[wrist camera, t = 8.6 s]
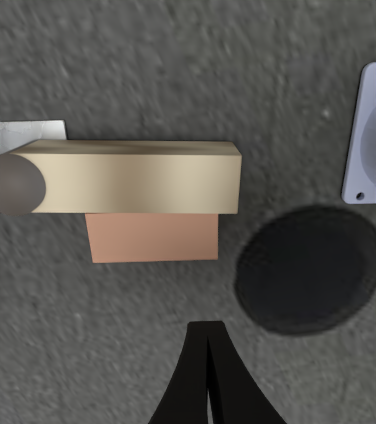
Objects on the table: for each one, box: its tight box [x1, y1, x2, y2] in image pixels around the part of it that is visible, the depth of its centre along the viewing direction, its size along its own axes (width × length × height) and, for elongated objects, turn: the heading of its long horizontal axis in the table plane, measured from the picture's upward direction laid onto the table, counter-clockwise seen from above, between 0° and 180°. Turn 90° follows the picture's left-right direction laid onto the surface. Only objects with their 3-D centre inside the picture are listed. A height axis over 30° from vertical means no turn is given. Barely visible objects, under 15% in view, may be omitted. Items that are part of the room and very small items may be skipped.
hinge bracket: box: [0, 120, 68, 154], centre depth 17 cm, size 6×5×4 cm
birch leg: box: [0, 140, 242, 216], centre depth 17 cm, size 12×3×4 cm, turn 89°
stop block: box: [85, 213, 218, 263], centre depth 19 cm, size 7×3×4 cm, turn 92°
